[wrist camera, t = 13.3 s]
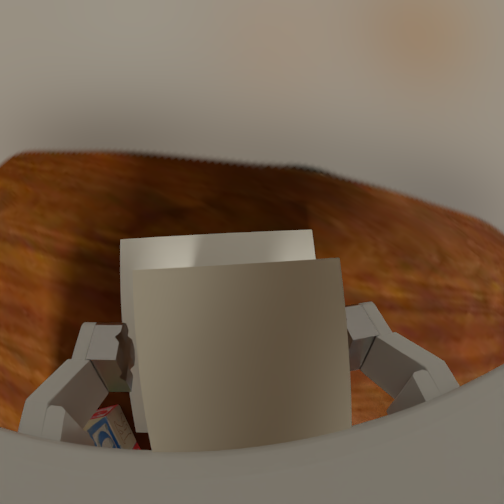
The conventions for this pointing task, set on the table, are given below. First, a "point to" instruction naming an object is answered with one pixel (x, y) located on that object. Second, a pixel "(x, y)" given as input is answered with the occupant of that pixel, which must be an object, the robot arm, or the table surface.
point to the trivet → (194, 255)
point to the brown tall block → (242, 354)
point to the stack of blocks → (111, 429)
